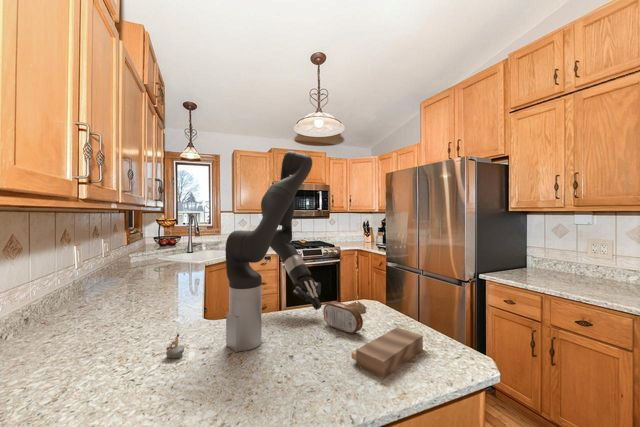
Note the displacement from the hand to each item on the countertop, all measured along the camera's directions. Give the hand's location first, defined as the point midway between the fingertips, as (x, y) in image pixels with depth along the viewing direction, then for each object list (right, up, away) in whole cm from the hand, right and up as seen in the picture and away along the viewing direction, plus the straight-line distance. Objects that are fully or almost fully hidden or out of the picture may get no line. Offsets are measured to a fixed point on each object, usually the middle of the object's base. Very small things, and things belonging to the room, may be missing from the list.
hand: (319, 308), depth 99 cm
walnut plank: (+19, -4, -25) cm, 32 cm away
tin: (+8, -5, -8) cm, 12 cm away
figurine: (-39, -4, -25) cm, 46 cm away
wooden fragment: (+13, -5, +10) cm, 17 cm away
